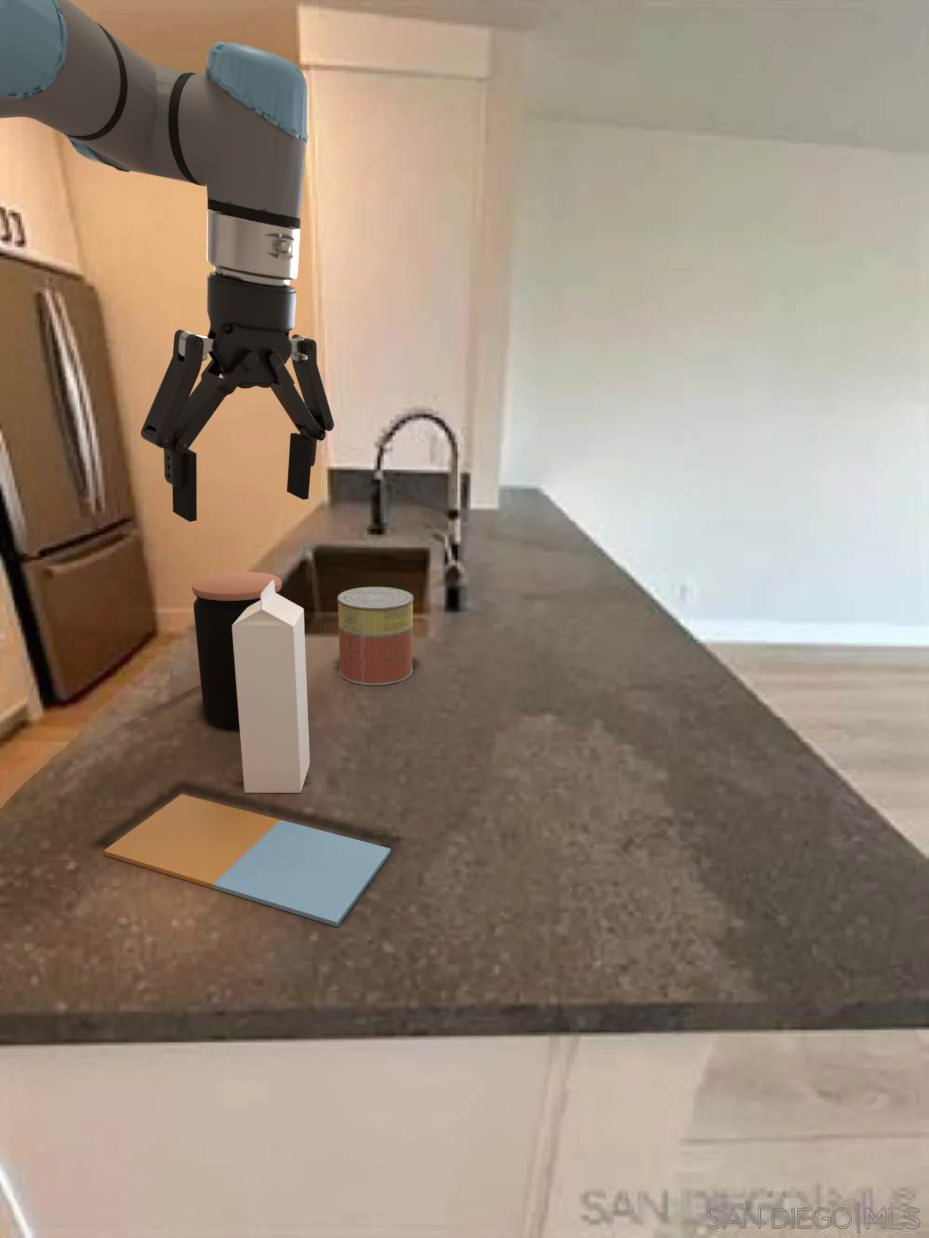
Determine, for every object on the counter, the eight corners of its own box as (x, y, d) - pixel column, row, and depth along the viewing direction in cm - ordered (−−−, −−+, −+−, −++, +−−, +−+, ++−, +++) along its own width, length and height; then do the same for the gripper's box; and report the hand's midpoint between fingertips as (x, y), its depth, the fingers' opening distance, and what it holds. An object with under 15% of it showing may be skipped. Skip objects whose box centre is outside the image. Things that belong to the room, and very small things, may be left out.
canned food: (403, 655, 111) (403, 585, 107) (420, 681, 101) (422, 605, 97) (334, 660, 108) (332, 588, 104) (345, 689, 98) (343, 610, 94)
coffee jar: (300, 719, 88) (294, 586, 82) (216, 739, 82) (204, 598, 76) (272, 690, 96) (265, 568, 91) (194, 707, 90) (181, 577, 85)
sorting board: (103, 855, 61) (103, 850, 61) (182, 797, 70) (181, 793, 70) (337, 927, 54) (337, 922, 54) (391, 852, 63) (391, 848, 63)
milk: (310, 765, 77) (304, 579, 71) (300, 794, 72) (293, 595, 65) (256, 764, 77) (245, 577, 70) (242, 793, 71) (229, 593, 64)
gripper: (139, 269, 48) (150, 542, 58) (382, 296, 66) (358, 499, 76) (84, 251, 51) (103, 512, 61) (330, 281, 70) (314, 477, 80)
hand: (245, 505), depth 69 cm, fingers open, 13 cm apart
